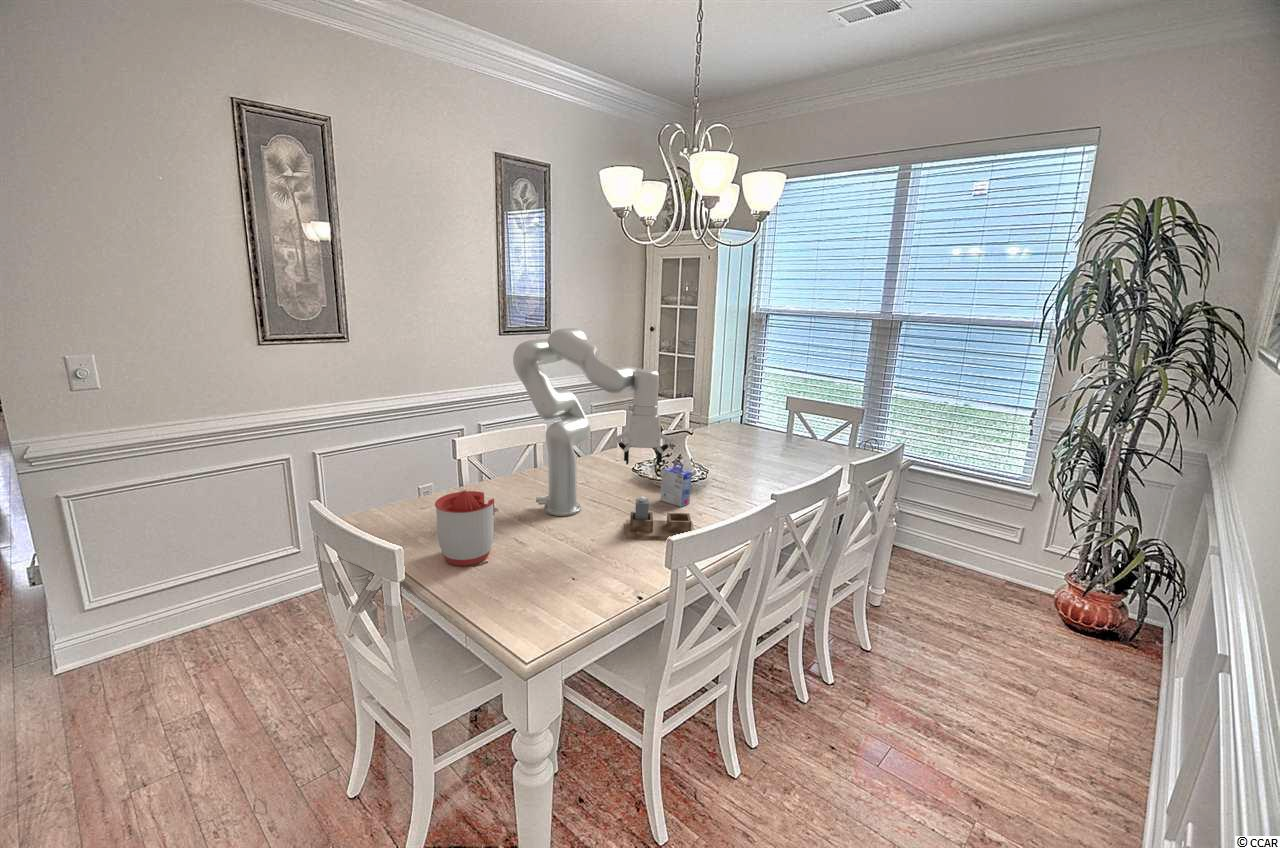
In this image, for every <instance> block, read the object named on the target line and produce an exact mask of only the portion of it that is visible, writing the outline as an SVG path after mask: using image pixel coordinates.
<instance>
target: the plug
mask: <svg viewBox="0 0 1280 848" xmlns="http://www.w3.org/2000/svg"><path fill="white" fill-rule="evenodd" d="M649 502H650V501H649V499H648V498H646V496H639V498H635V511H634V512H635V520H648V512H649V507H650V505H649V504H650V503H649Z"/></svg>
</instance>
